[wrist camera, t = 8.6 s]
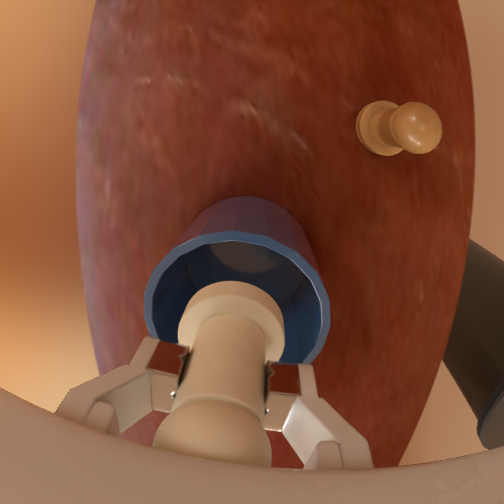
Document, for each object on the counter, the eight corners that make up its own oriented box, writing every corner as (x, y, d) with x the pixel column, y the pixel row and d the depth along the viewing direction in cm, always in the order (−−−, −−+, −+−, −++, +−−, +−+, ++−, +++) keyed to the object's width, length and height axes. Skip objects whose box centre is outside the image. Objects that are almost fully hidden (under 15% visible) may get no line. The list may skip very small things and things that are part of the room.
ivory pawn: (293, 289, 12) (318, 474, 5) (272, 369, 13) (272, 533, 6) (188, 271, 12) (105, 437, 5) (182, 353, 13) (129, 509, 6)
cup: (323, 209, 23) (354, 252, 15) (294, 323, 27) (303, 400, 18) (190, 185, 23) (147, 216, 15) (178, 303, 27) (144, 372, 18)
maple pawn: (408, 110, 20) (463, 105, 13) (399, 160, 22) (451, 174, 14) (360, 95, 20) (401, 79, 13) (350, 147, 22) (388, 153, 14)
